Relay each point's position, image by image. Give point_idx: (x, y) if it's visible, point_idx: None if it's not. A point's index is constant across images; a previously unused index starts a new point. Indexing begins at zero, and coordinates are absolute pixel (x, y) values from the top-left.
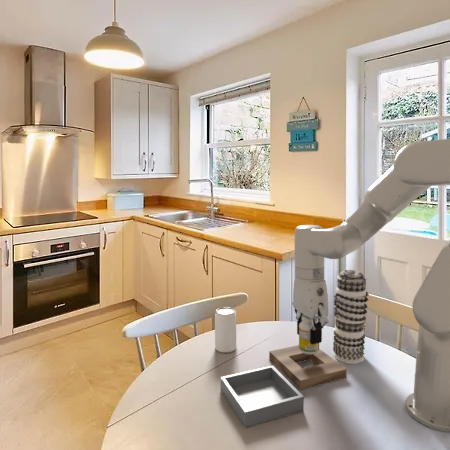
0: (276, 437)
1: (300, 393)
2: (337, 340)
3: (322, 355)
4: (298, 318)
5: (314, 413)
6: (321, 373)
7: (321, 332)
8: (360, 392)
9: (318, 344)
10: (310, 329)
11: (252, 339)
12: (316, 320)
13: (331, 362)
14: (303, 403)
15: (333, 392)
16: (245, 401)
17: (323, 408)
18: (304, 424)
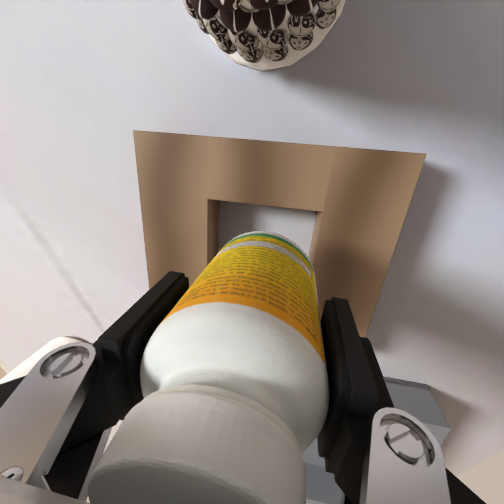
0: (444, 462)
1: (432, 425)
2: (241, 13)
3: (262, 171)
4: (107, 438)
5: (454, 371)
6: (372, 278)
7: (364, 354)
8: None
9: (313, 281)
10: (329, 470)
11: (35, 274)
12: (294, 465)
13: (334, 178)
14: (438, 406)
15: (430, 267)
16: (316, 449)
17: (459, 342)
18: (462, 410)
